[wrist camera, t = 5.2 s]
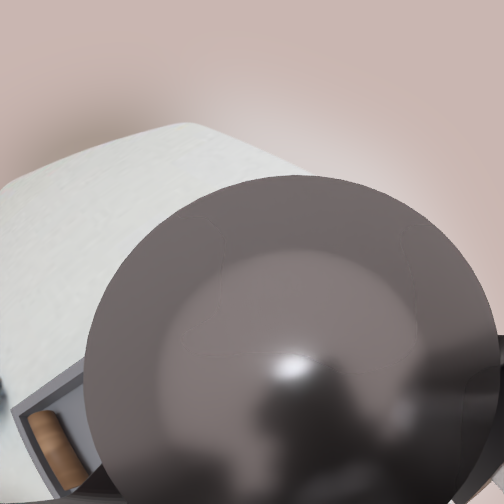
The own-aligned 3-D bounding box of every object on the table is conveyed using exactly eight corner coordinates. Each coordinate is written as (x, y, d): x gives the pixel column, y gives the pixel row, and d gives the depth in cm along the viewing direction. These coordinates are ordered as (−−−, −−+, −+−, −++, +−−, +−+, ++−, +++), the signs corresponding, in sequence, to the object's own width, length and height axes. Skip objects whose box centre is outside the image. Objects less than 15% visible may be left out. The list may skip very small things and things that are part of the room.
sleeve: (333, 396, 13) (538, 348, 2) (267, 450, 12) (274, 619, 1) (278, 336, 15) (314, 131, 4) (212, 387, 14) (33, 319, 3)
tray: (229, 504, 15) (225, 515, 13) (111, 547, 11) (99, 556, 9) (118, 349, 21) (103, 342, 19) (27, 412, 18) (10, 409, 15)
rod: (97, 479, 15) (83, 483, 13) (74, 488, 14) (59, 492, 11) (59, 412, 18) (43, 408, 16) (39, 422, 17) (21, 419, 14)
